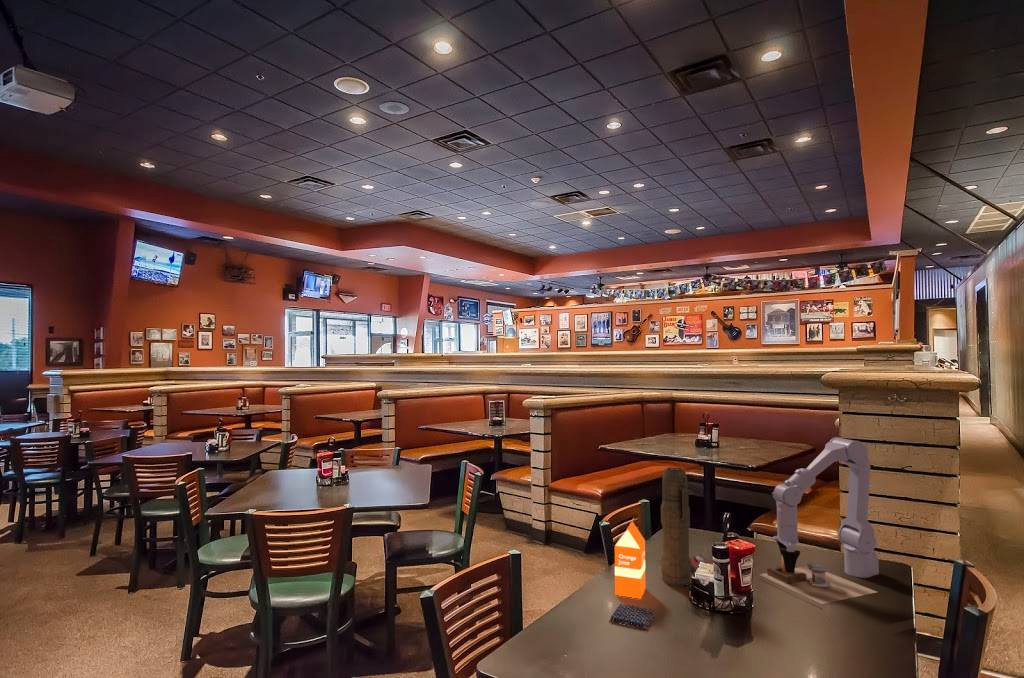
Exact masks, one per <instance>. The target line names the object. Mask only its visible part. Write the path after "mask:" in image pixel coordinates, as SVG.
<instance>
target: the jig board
mask: <svg viewBox="0 0 1024 678" xmlns="http://www.w3.org/2000/svg"><path fill="white" fill-rule="evenodd" d="M796 573H805V574H806V581H802V582H797V583H792V584H786V583H784V582H782V581H780V580H777V579H775V578H773V577H771V576H769V575H767V573H759V576H760V577H763V578H765V579H767V580H769V581H772V582H774V583H776V584H778V585H780V586H782V587H784V588H787V589H789V590H791V591H793V592H795V593H796V594H799V595H801V596H803V597H805V598H807V599H810V600H813V601H815V602H816V603H819V604H820V605H824V604H829V603H834V602H838V601H843V600H848V599H853V598H858V597H861V596H863V597H864V596H866V595H871V594H872V595H873V594H876V593H878V591H876V590H873V589H871V588H868V587H866V586H864V585H861V584H858V583H856V582H853V581H851V580H849V579H846V578H844V577H841V576H839V575H836V574H834V573H831V572H830V571H829V572H825V579H826V580H827V581H829V582H830V587H829V588H818V587H814V586H811V585H809V584H808V579H809V578H812V570H810V569H809V568H808V567H807V565H805V566H799V567H795V574H796ZM759 580H760V581H762V582H764V583H766V584H768V585H770V586H772V587H774V588H776V589H778V590H780V591H783V592H784V593H787V594H789V595H791V596H793V597H794V598H797V599H800V600H802V601H803V602H806V603H808V604H810V605H812V606H813V607H816V608H818V609H820V610H823V608H821V607H819V606H818V605H816V604H813V603H811V602H808V601H807V600H804V599H802V598H800V597H798V596H797V595H794V594H792V593H790V592H788V591H786V590H784V589H781V588H779V587H776V585H773V584H770V583H769V582H767V581H764V580H763V579H761V578H759Z"/></svg>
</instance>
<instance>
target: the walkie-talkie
mask: <svg viewBox="0 0 1024 678" xmlns="http://www.w3.org/2000/svg"><path fill="white" fill-rule="evenodd" d="M690 560H691V574H692V573H694V572H695V571H696V570H697V568H698V565H699V563H700V562H705V561H706V560H707V559H706V558H705V557H704V556H703V555H702V554H698V555H694V556H693V557H692V558H690Z"/></svg>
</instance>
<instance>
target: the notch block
mask: <svg viewBox="0 0 1024 678" xmlns="http://www.w3.org/2000/svg"><path fill="white" fill-rule="evenodd" d="M766 571H767V575H769V576H771V577H773V578H775V579H777V580H780V581H782V582H784V583H786V584H792V583H797V582H802V581H806V574H805V573H796V574H791V575H786V574H784V573H782V565H780V566H774V567H767V568H766Z"/></svg>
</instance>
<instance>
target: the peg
mask: <svg viewBox="0 0 1024 678" xmlns="http://www.w3.org/2000/svg"><path fill="white" fill-rule="evenodd" d="M781 566H782V573H784V574H786V575H791V574H795V570H794V573H788V572H786V570H785V565H784V560H783V556H782V557H781Z"/></svg>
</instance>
